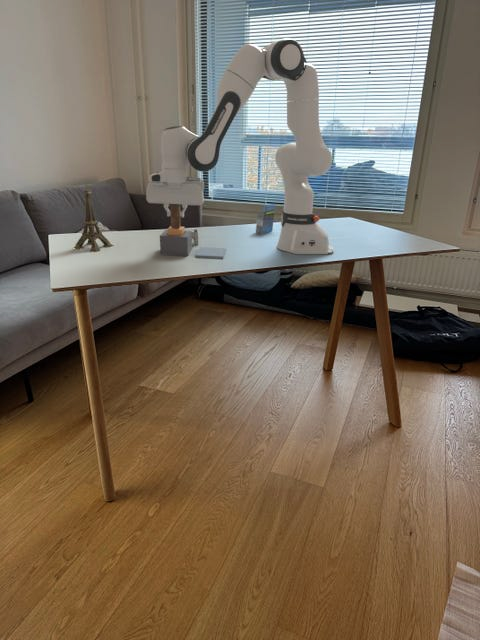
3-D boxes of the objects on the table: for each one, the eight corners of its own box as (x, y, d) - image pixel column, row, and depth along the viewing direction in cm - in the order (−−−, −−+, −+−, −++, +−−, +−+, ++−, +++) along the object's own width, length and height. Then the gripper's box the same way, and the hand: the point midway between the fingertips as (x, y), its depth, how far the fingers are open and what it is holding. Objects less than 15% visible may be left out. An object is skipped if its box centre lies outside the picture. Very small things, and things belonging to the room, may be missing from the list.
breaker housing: (192, 249, 163) (191, 231, 161) (187, 256, 154) (187, 237, 151) (166, 247, 164) (165, 229, 161) (160, 254, 155) (159, 235, 152)
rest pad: (225, 250, 164) (225, 248, 164) (223, 258, 153) (223, 256, 153) (200, 248, 164) (200, 246, 164) (195, 257, 153) (195, 255, 153)
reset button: (184, 234, 159) (184, 226, 158) (182, 237, 154) (181, 229, 153) (170, 234, 159) (170, 226, 158) (167, 237, 154) (167, 229, 153)
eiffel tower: (72, 248, 158) (63, 178, 148) (90, 242, 167) (83, 176, 157) (96, 252, 155) (88, 180, 145) (113, 245, 164) (107, 178, 154)
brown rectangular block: (180, 226, 156) (180, 203, 153) (179, 227, 154) (178, 205, 150) (172, 225, 156) (172, 203, 153) (171, 227, 154) (170, 204, 150)
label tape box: (265, 229, 201) (267, 203, 196) (273, 231, 199) (275, 204, 193) (255, 232, 194) (256, 205, 189) (262, 234, 192) (264, 206, 187)
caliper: (198, 245, 169) (198, 230, 167) (195, 246, 169) (195, 230, 166) (184, 234, 186) (184, 220, 184) (182, 234, 186) (181, 220, 184)
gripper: (205, 177, 151) (205, 216, 156) (148, 174, 151) (150, 213, 157) (203, 179, 145) (203, 219, 150) (143, 176, 145) (145, 217, 151)
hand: (175, 216), depth 154 cm, fingers closed on brown rectangular block, 3 cm apart
